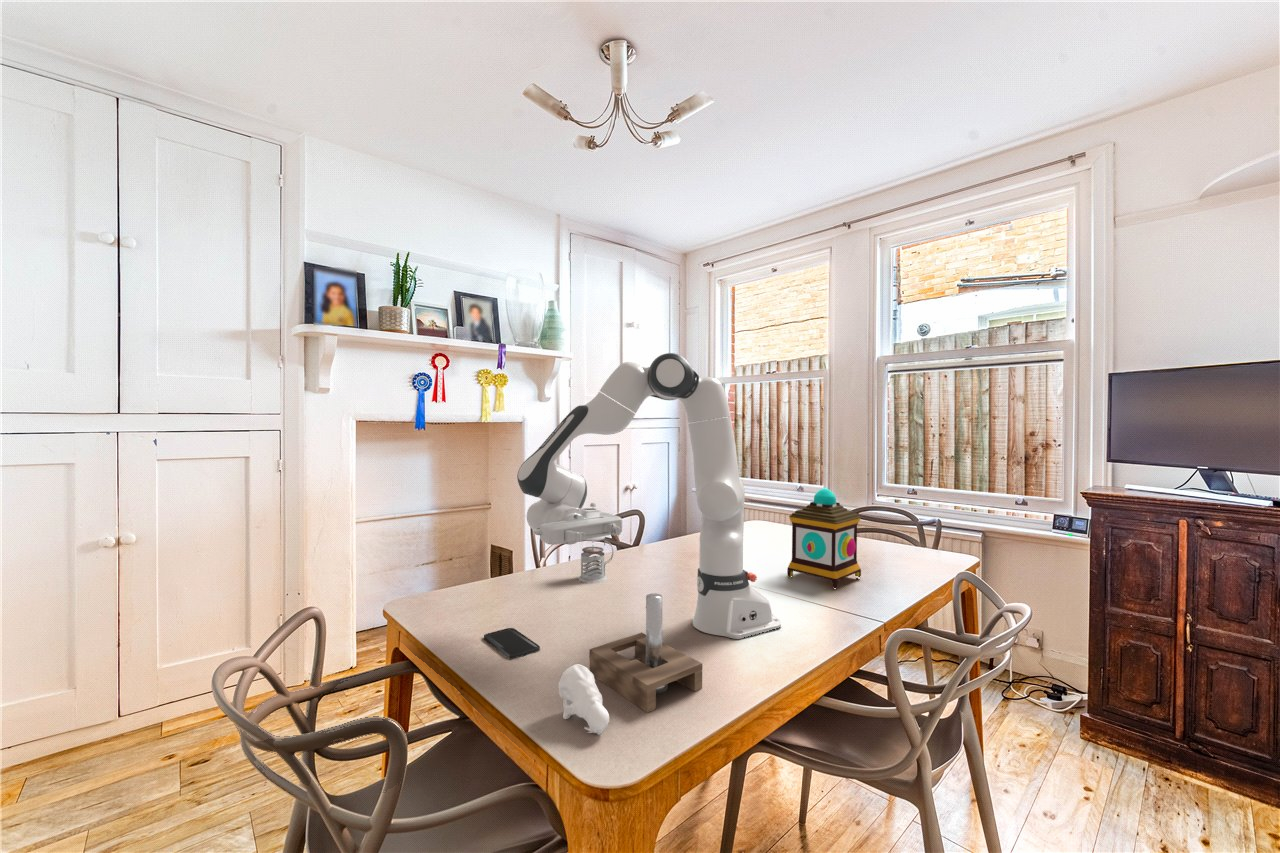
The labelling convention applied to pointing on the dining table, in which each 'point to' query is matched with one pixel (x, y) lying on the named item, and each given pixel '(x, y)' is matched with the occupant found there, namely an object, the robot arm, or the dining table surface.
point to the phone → (511, 643)
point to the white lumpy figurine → (583, 698)
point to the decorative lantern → (824, 539)
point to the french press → (594, 572)
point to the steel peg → (654, 633)
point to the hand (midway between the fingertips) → (601, 534)
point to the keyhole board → (642, 670)
